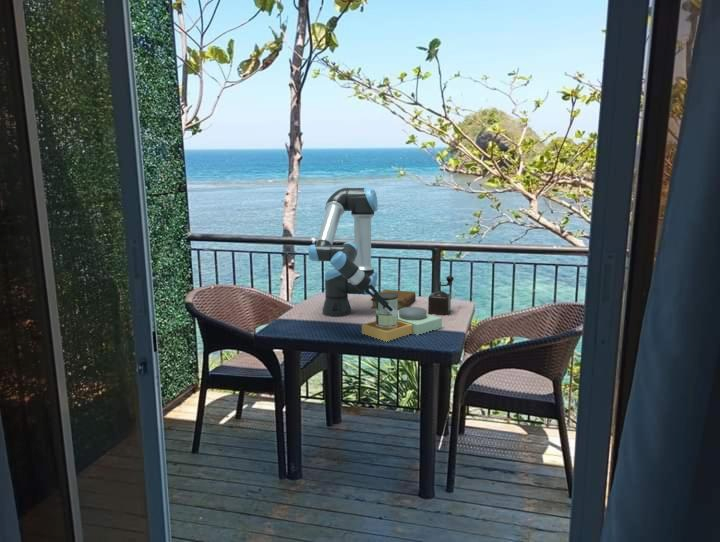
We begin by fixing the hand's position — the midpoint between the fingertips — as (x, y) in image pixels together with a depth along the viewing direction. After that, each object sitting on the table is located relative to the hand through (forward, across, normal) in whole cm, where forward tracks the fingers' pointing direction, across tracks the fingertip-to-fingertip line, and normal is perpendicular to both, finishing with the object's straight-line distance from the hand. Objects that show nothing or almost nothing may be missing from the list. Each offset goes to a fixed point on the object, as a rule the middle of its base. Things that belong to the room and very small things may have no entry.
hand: (393, 311), depth 262 cm
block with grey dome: (+16, -9, +1) cm, 18 cm away
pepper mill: (+32, -32, +17) cm, 48 cm away
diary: (+17, -51, +2) cm, 54 cm away
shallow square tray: (+5, 0, -9) cm, 11 cm away
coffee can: (+2, 0, -7) cm, 7 cm away
